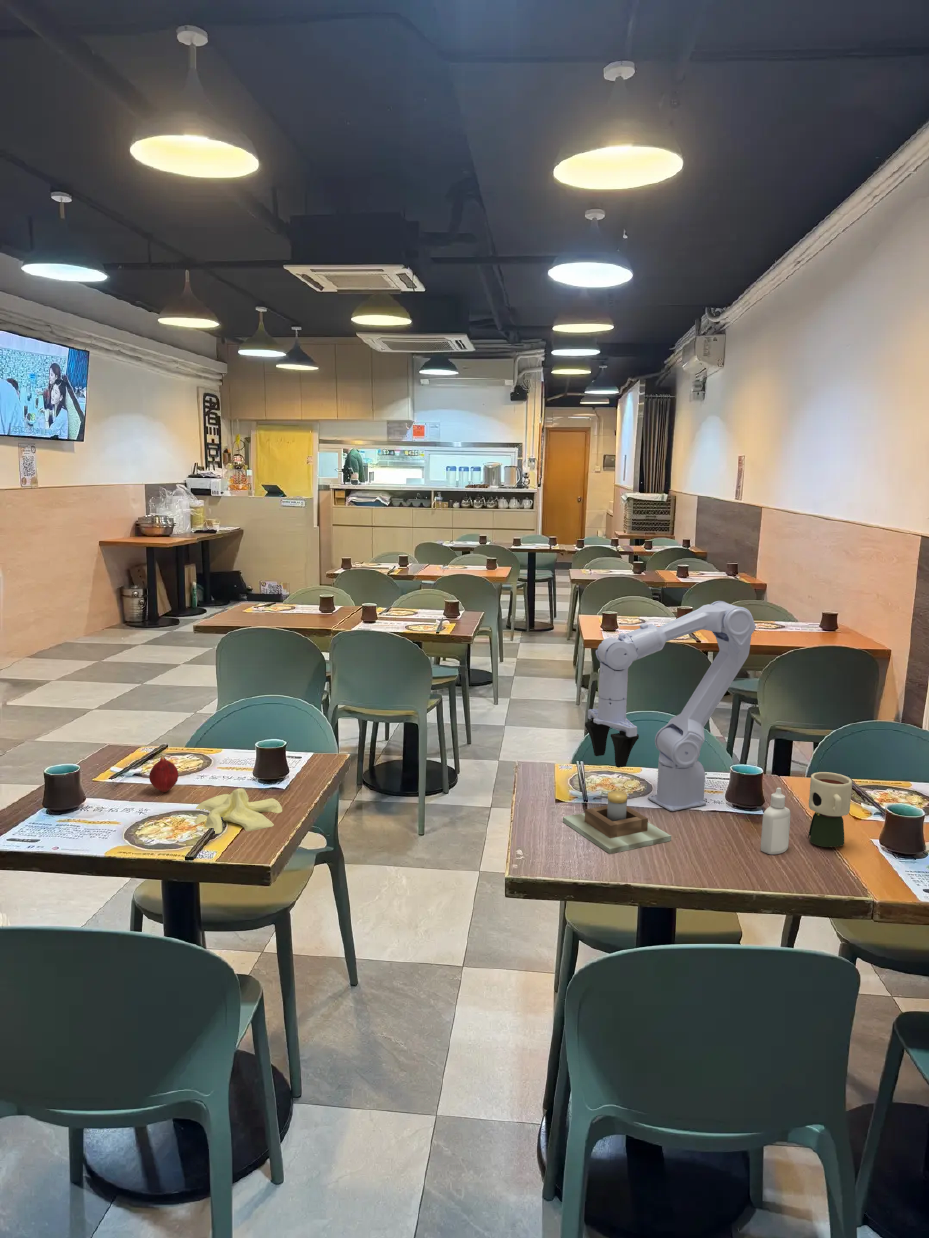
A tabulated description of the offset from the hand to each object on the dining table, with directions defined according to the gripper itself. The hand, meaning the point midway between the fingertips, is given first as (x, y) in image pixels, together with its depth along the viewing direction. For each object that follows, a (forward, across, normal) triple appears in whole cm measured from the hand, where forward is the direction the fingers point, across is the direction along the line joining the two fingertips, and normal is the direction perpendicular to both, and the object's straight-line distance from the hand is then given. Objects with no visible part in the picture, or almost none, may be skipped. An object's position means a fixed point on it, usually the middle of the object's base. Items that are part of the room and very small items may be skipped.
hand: (609, 760), depth 173 cm
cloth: (+11, -26, -72) cm, 77 cm away
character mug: (+10, +32, +27) cm, 43 cm away
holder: (+10, +11, -6) cm, 16 cm away
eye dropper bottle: (+10, +30, +16) cm, 35 cm away
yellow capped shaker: (+10, +11, -6) cm, 16 cm away
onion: (+10, -45, -83) cm, 95 cm away
